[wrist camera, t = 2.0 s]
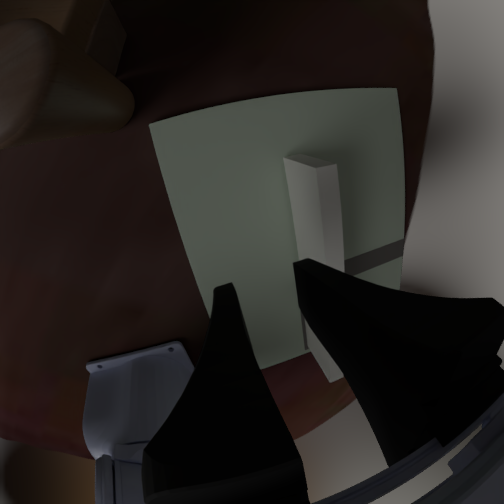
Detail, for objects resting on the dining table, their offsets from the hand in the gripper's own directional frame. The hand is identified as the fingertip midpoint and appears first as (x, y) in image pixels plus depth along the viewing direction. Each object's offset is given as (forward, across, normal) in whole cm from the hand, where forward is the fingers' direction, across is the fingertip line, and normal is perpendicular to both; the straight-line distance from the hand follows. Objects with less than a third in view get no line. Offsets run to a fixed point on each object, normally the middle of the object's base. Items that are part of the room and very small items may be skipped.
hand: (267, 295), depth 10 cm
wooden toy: (+10, +10, -13) cm, 19 cm away
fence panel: (+9, -5, +2) cm, 10 cm away
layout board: (+10, -6, +4) cm, 12 cm away
